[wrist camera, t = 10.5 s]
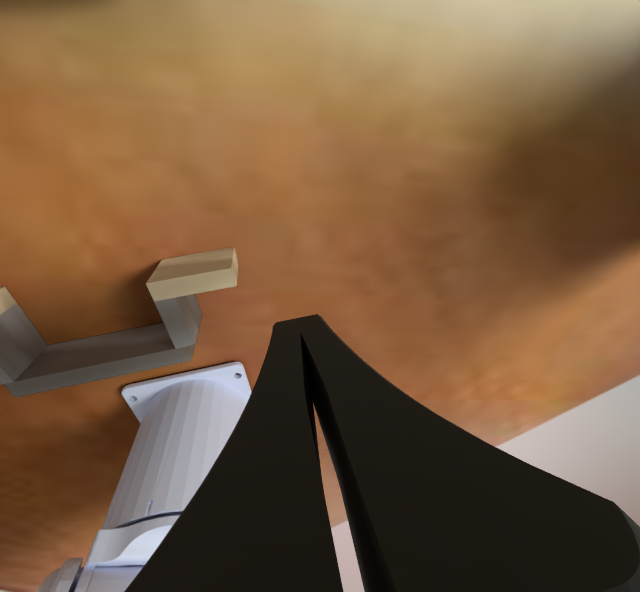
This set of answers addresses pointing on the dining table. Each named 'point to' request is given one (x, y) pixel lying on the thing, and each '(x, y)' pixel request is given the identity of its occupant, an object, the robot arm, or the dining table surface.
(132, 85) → the dining table surface
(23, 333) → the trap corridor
